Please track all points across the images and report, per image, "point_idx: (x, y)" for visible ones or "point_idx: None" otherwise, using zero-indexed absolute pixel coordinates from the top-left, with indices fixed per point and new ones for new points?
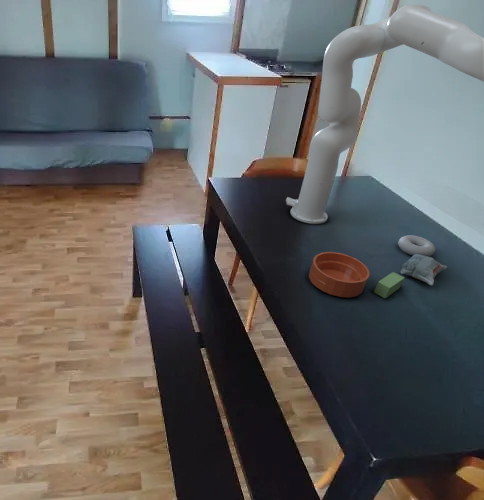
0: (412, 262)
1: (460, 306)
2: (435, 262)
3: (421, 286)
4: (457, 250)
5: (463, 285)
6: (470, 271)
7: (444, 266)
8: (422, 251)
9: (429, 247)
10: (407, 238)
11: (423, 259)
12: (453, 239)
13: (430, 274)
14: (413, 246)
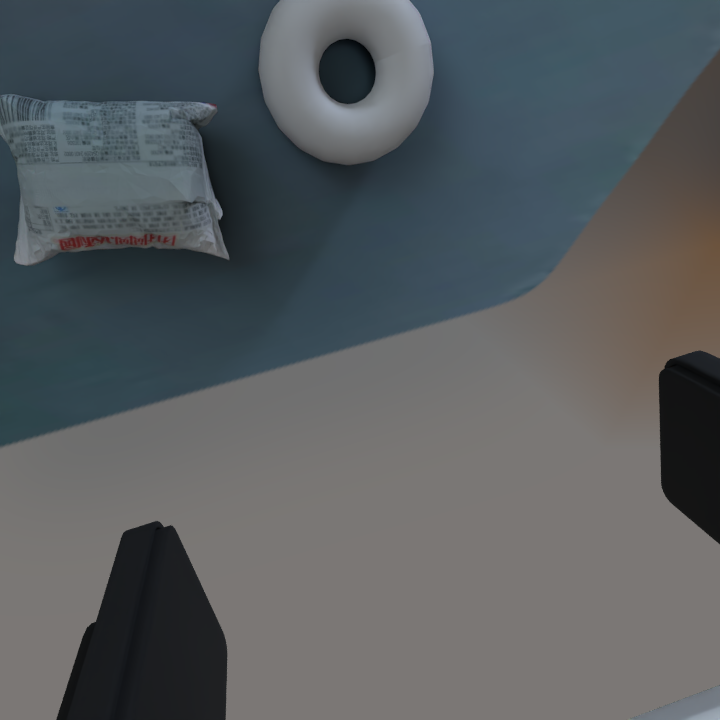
0: (34, 134)
1: (42, 377)
2: (152, 221)
3: None
4: (504, 226)
5: (217, 335)
6: (357, 318)
7: (225, 250)
8: (283, 122)
9: (336, 137)
10: (341, 4)
11: (109, 168)
12: (601, 179)
13: (39, 239)
14: (277, 66)
